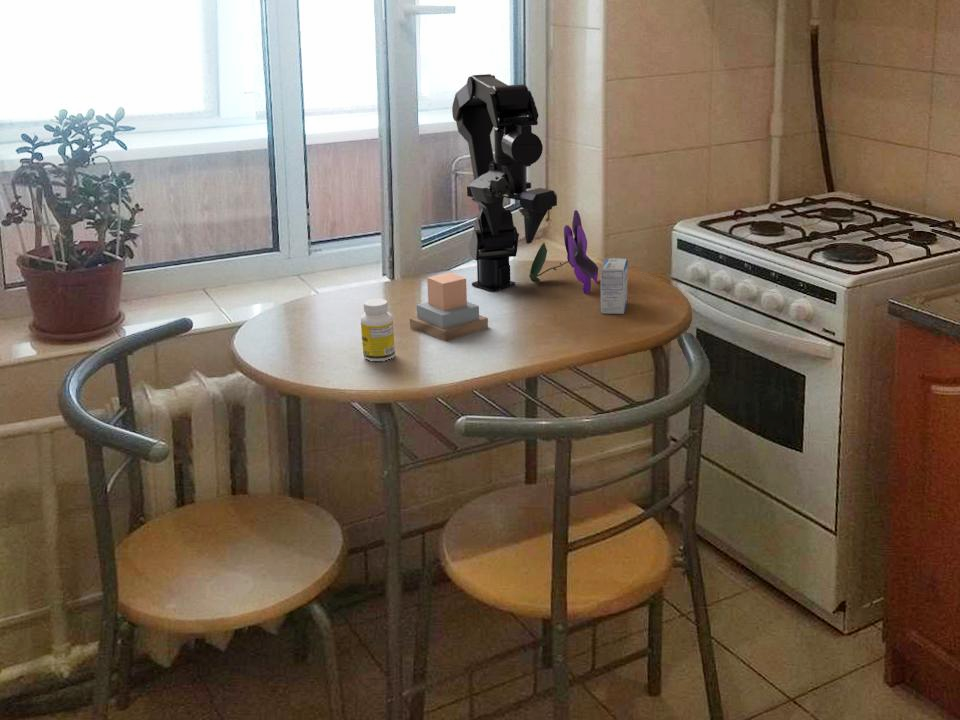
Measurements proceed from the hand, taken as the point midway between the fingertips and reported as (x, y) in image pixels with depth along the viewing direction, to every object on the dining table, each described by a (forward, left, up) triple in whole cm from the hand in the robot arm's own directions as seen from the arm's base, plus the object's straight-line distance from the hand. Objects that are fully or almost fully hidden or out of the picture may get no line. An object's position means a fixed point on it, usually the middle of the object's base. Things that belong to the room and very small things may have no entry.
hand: (511, 238), depth 209 cm
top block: (+1, -17, -11) cm, 21 cm away
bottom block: (+1, -17, -14) cm, 22 cm away
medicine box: (+15, +12, -13) cm, 23 cm away
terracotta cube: (+1, -17, -9) cm, 19 cm away
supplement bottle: (+4, -35, -13) cm, 38 cm away
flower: (-2, +16, -13) cm, 21 cm away
